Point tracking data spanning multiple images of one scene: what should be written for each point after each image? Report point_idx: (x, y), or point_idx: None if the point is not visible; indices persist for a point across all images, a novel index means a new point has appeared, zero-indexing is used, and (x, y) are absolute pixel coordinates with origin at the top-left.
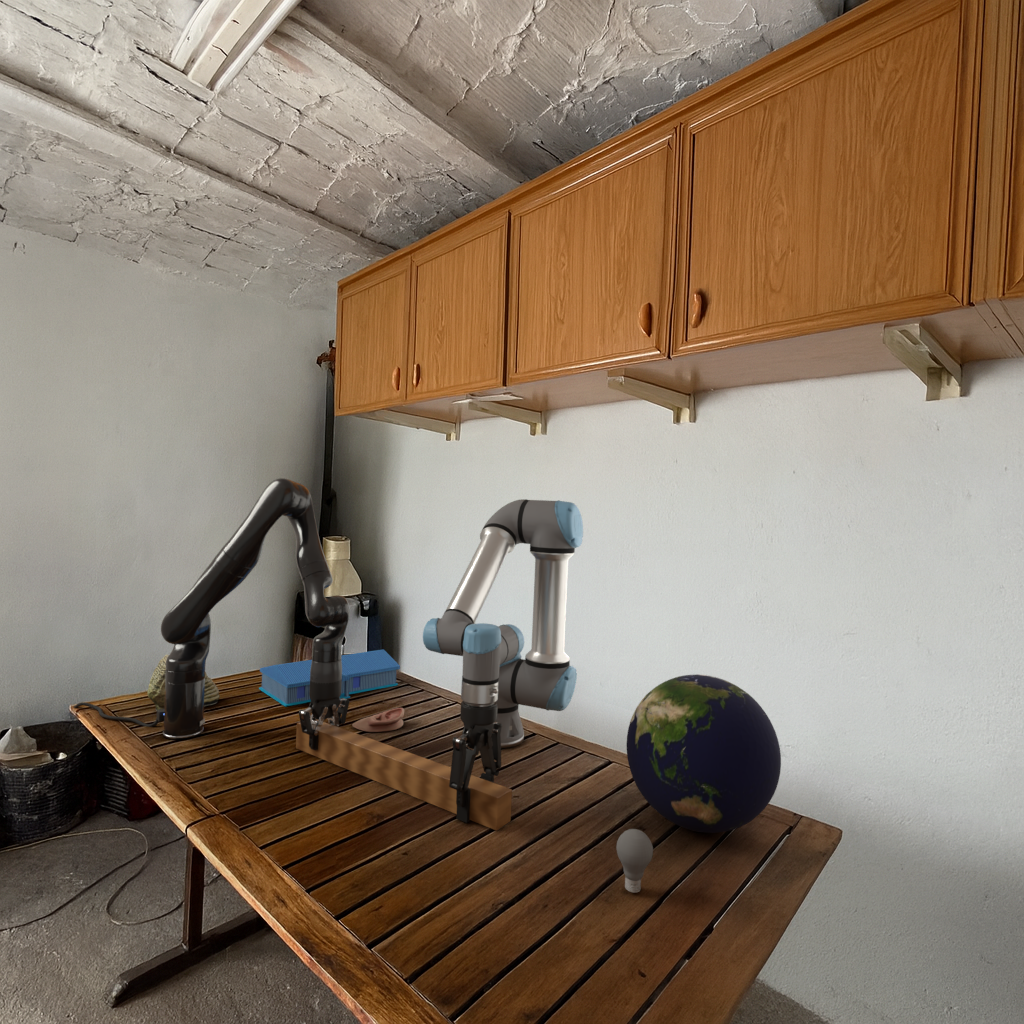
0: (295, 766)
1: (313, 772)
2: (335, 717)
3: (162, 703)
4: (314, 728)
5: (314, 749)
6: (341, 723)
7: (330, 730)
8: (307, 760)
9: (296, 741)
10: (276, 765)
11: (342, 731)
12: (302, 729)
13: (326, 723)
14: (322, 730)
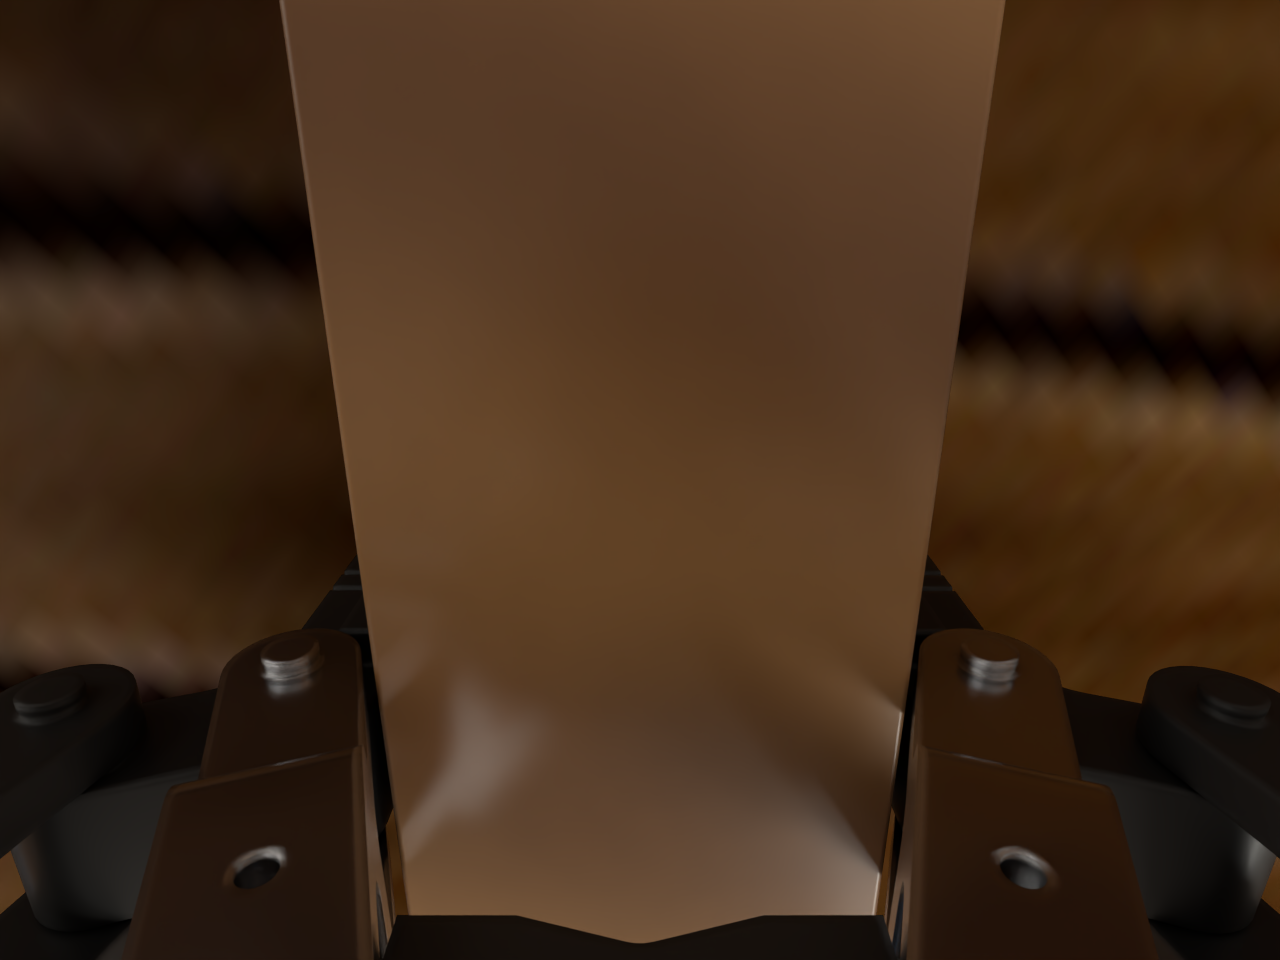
0: (1180, 445)
1: (1235, 54)
2: (311, 833)
3: None
4: (846, 870)
5: None
6: (136, 694)
7: (683, 512)
8: (939, 483)
9: None
10: (1266, 640)
11: (484, 167)
12: (1276, 930)
13: (440, 913)
14: (828, 655)
